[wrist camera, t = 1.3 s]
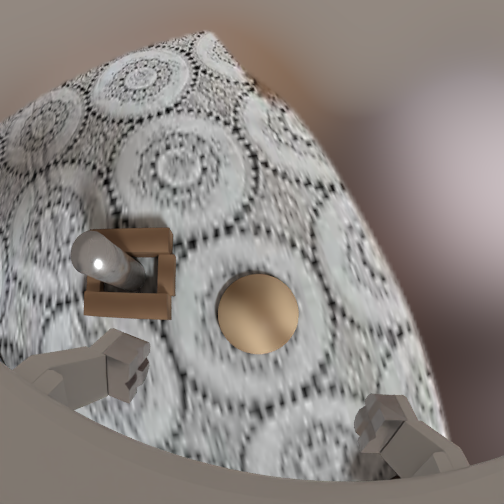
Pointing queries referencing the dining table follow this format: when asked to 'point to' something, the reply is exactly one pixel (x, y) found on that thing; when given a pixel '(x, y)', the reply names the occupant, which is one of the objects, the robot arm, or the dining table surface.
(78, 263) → the grey rounded cylinder
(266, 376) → the dining table surface
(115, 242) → the cradle
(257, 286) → the cork pad
